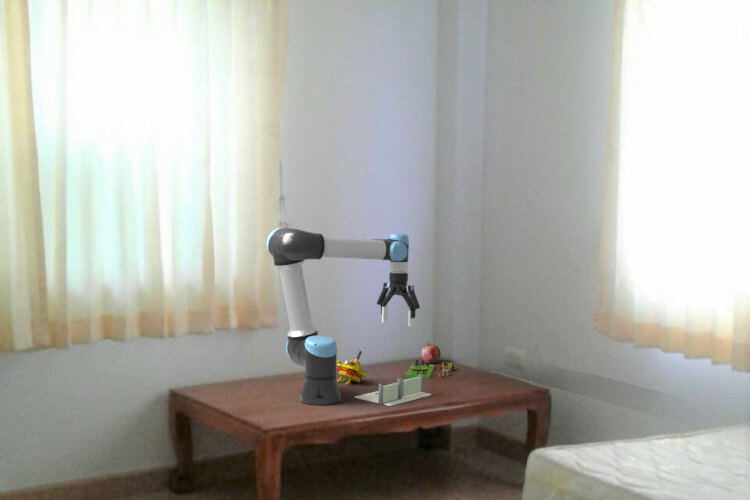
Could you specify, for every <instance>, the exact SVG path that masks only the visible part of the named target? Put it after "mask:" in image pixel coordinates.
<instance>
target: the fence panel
mask: <svg viewBox="0 0 750 500" xmlns="http://www.w3.org/2000/svg"><path fill="white" fill-rule="evenodd" d="M423 391H424V378H423V374H419V377H415V378H407V379H406V378H405V379H403V382H402V397H405V396H409V395H413V394H416V393H420V392H423ZM423 393H424V392H423Z"/></svg>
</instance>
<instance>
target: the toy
mask: <svg viewBox="0 0 750 500" xmlns="http://www.w3.org/2000/svg"><path fill="white" fill-rule="evenodd" d="M362 352H363V351H362V350H359V351H358V354H357V356H356V358H354V359H351V360H345V361H344V363H343V362H342V361H340V360H336V371H338V375H339V376H340V377H339V379H336V381H337V383H340V384H341V383H342V380H343V378H344V379H347V381H346V382H345V385H347V386H350V383H351V382H353V383H360V381H362V380H363V378H367V379H369V377H370V376H369V375H367V374H366V373H365V370H363V367H362V365H361V362H360V361H359V359H360V357H361V354H362Z"/></svg>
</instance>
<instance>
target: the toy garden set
mask: <svg viewBox="0 0 750 500" xmlns="http://www.w3.org/2000/svg"><path fill="white" fill-rule="evenodd" d="M420 362H421V363H419V360H418V359H416V360H415V363H411V365H410V366H409V369H408V370H407V372H406V373H405V379H406V378H407V379H410V378H415V377H419V374H423V379H425V378H430V379H431V377H430V376H432V374H433V371H434V370H435V364H430V363H425V362H424V360H422V359H421V361H420ZM433 369H434V370H433ZM452 370H454V371H455V365H453V362H450V360H447V361H444V362H442V364H439V371H442V372H441V373H442V375H440V373H437V375H438V376H439V378H440V379H443V377H448V376H449V372H453V371H452Z"/></svg>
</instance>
